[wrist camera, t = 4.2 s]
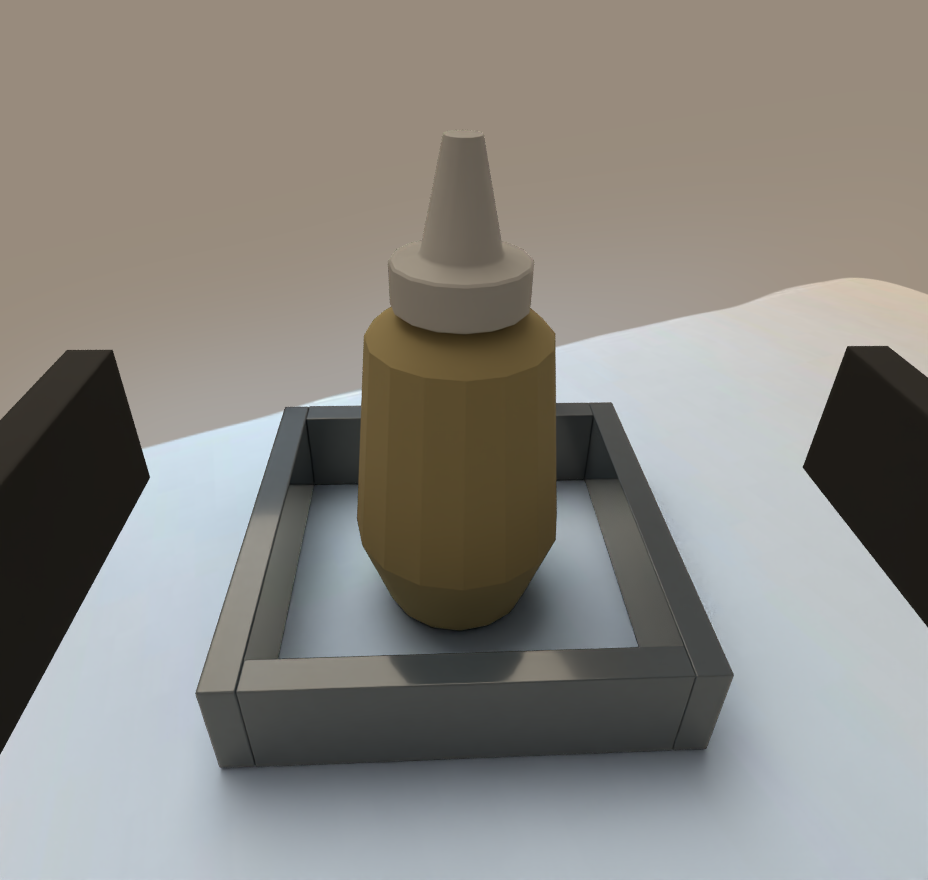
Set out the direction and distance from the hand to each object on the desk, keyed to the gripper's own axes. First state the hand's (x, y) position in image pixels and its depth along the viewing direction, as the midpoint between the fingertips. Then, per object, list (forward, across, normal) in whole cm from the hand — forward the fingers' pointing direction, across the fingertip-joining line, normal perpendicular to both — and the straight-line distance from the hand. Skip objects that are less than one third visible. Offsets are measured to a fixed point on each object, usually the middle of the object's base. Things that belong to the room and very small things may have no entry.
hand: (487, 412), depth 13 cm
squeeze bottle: (+10, 0, -15) cm, 18 cm away
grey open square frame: (+10, 0, -15) cm, 18 cm away
